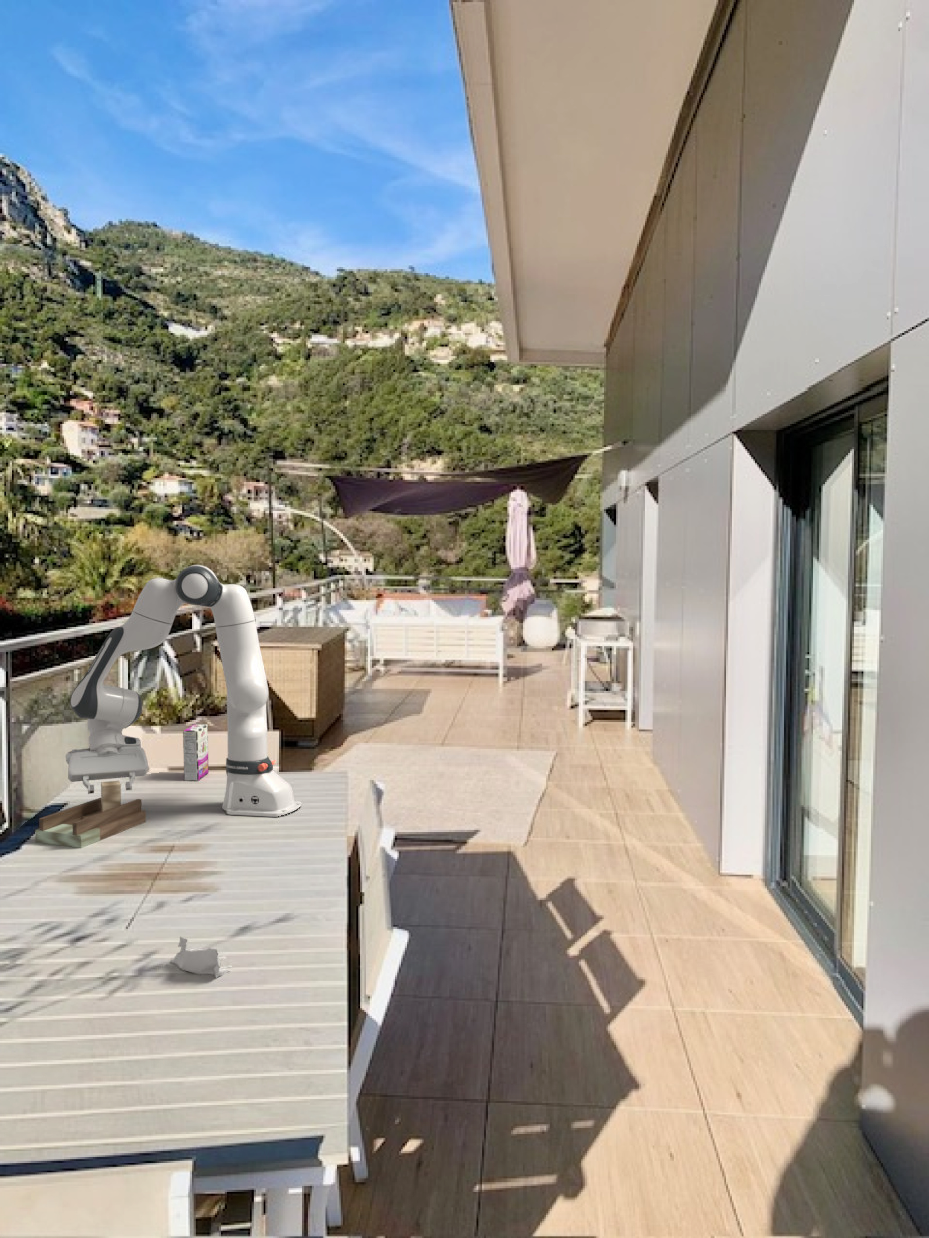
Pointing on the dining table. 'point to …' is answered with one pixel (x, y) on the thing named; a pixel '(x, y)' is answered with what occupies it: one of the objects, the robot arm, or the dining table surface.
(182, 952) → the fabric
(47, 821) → the channel deck
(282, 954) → the dining table surface
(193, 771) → the candy bar box
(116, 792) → the beech block
